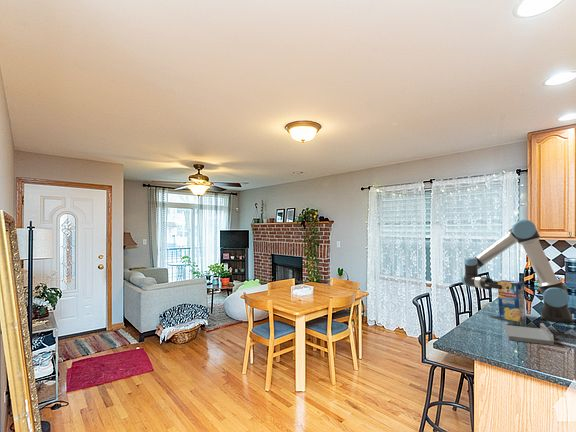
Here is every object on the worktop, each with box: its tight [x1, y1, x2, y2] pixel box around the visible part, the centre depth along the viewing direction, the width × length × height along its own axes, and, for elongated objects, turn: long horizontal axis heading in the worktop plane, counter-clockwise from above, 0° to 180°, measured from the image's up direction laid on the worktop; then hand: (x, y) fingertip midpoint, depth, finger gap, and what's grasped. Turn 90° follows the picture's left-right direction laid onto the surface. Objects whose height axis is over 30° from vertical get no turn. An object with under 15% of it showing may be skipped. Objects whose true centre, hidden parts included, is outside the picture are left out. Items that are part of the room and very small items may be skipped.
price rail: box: [539, 322, 555, 341], centre depth 164 cm, size 22×2×3 cm, turn 151°
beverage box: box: [497, 279, 526, 323], centre depth 189 cm, size 7×11×22 cm, turn 32°
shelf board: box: [503, 324, 555, 346], centre depth 167 cm, size 22×18×2 cm
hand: (519, 288), depth 185 cm, fingers closed on beverage box, 4 cm apart
